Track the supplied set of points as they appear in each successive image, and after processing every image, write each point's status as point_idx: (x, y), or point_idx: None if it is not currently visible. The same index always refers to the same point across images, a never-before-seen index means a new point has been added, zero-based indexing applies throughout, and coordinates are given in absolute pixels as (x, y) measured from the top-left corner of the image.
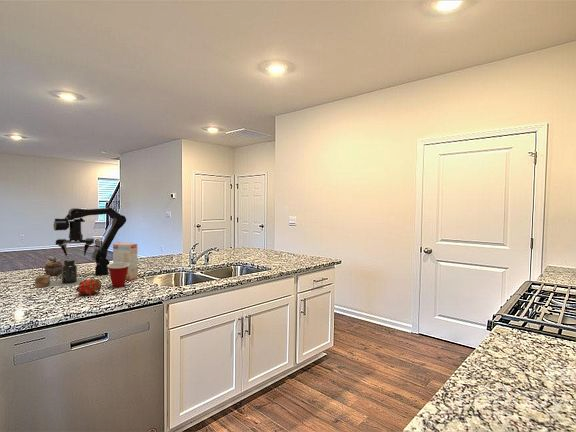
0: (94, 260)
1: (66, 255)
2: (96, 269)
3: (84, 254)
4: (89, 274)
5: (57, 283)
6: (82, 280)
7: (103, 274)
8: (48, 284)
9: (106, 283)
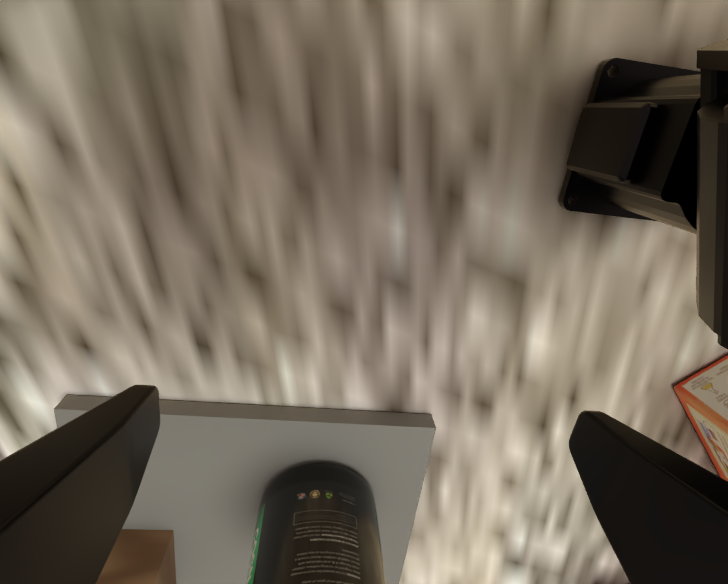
0: (698, 232)
1: (146, 459)
2: (613, 185)
3: (590, 485)
4: (499, 84)
5: (226, 515)
6: (417, 477)
7: (638, 218)
8: (171, 570)
9: (572, 533)
